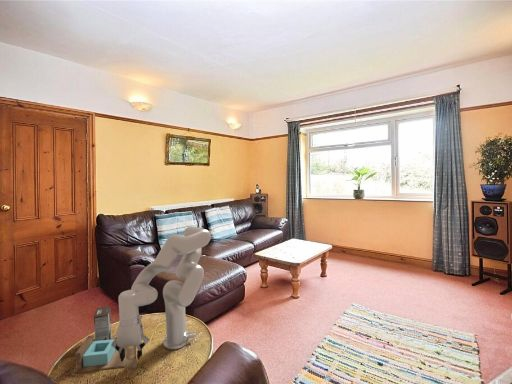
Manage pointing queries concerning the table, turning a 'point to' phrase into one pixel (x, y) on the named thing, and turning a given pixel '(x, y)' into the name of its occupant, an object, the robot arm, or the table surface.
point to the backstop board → (113, 363)
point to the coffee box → (102, 324)
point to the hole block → (99, 353)
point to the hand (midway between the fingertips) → (131, 358)
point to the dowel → (131, 358)
